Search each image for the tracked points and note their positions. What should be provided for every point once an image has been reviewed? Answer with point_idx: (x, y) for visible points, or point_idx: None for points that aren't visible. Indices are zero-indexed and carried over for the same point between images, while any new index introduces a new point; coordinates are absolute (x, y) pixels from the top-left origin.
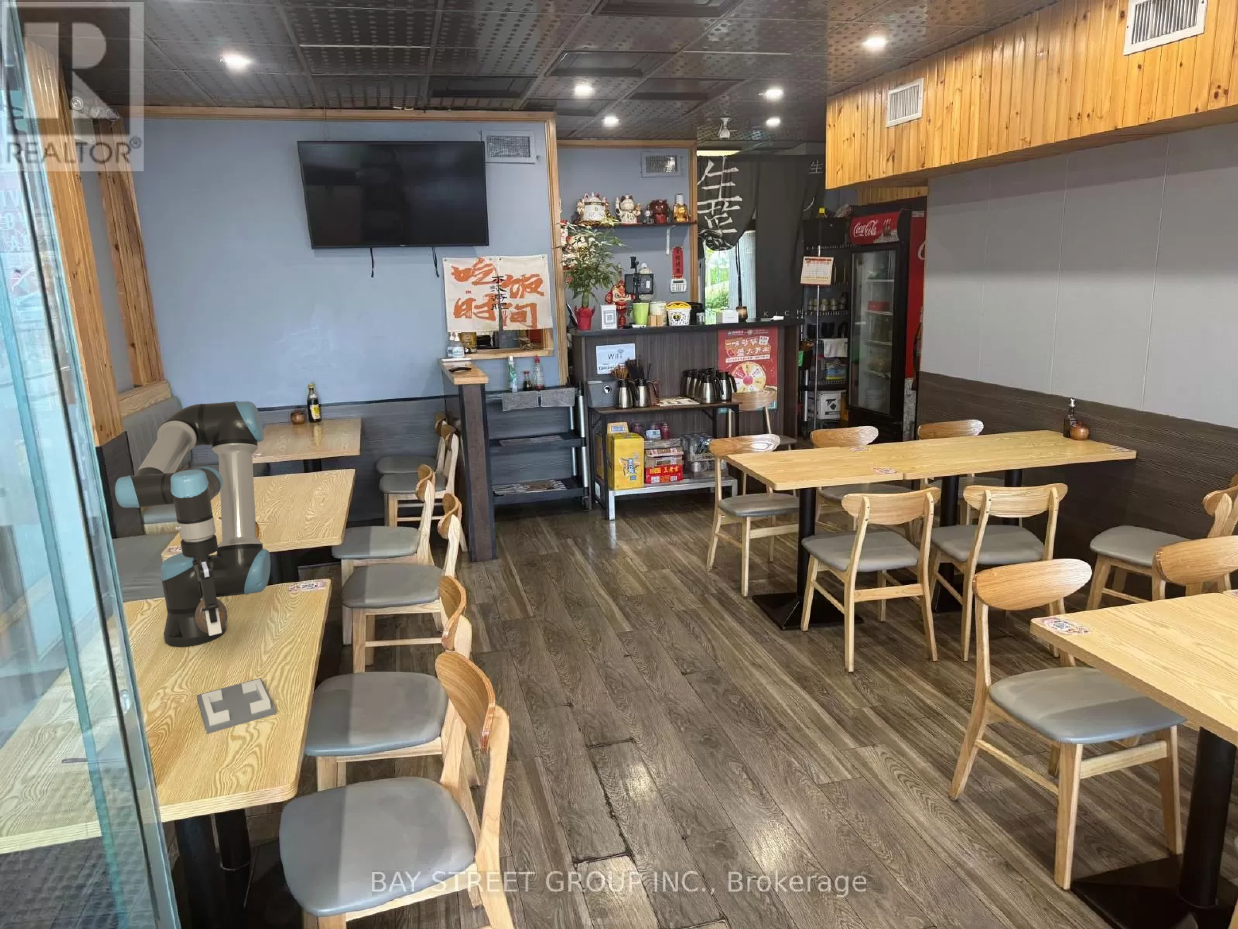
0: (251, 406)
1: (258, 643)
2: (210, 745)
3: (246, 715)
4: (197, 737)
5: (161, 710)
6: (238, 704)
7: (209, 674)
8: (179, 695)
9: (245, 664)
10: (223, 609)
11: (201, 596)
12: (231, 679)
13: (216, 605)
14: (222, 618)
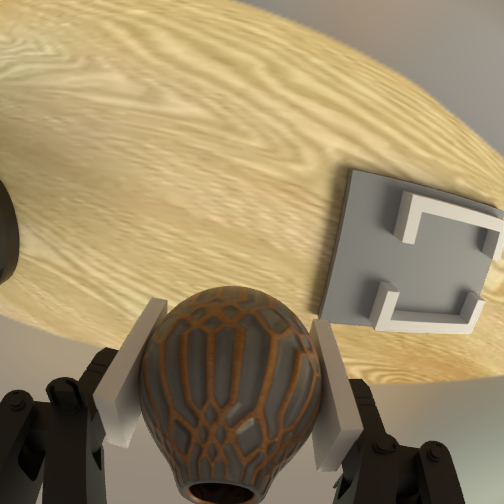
0: None
1: (81, 107)
2: (488, 325)
3: (486, 263)
4: (455, 338)
5: None
6: (440, 262)
7: (188, 258)
8: None
9: (190, 165)
10: (297, 360)
11: (103, 451)
12: (264, 223)
13: (445, 461)
14: (312, 343)
